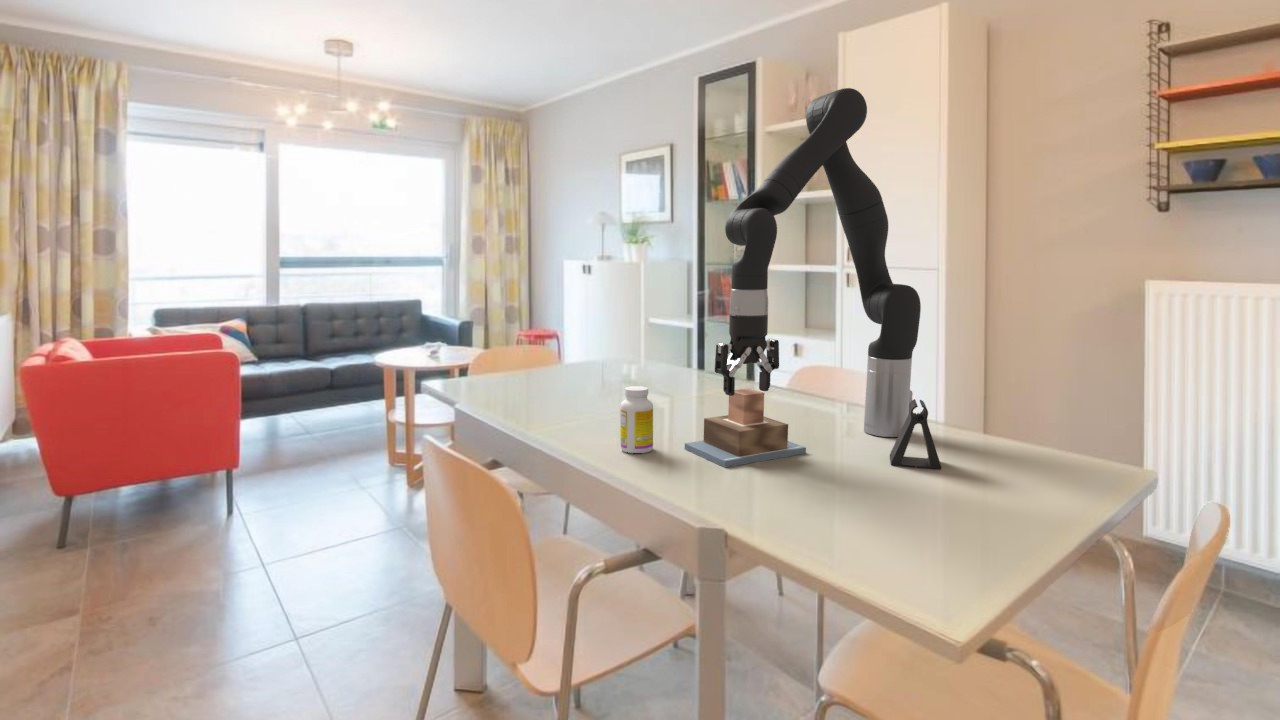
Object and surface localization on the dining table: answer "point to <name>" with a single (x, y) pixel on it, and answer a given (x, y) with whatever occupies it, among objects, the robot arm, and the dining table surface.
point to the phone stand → (904, 437)
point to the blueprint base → (733, 462)
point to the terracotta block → (746, 407)
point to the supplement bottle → (636, 421)
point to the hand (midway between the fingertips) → (746, 392)
